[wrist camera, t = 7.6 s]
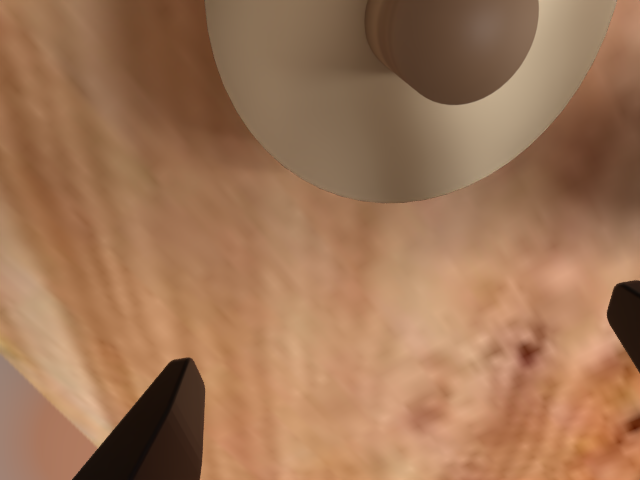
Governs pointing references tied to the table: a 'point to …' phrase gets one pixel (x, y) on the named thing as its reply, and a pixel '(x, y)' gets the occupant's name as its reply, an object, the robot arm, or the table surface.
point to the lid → (402, 84)
